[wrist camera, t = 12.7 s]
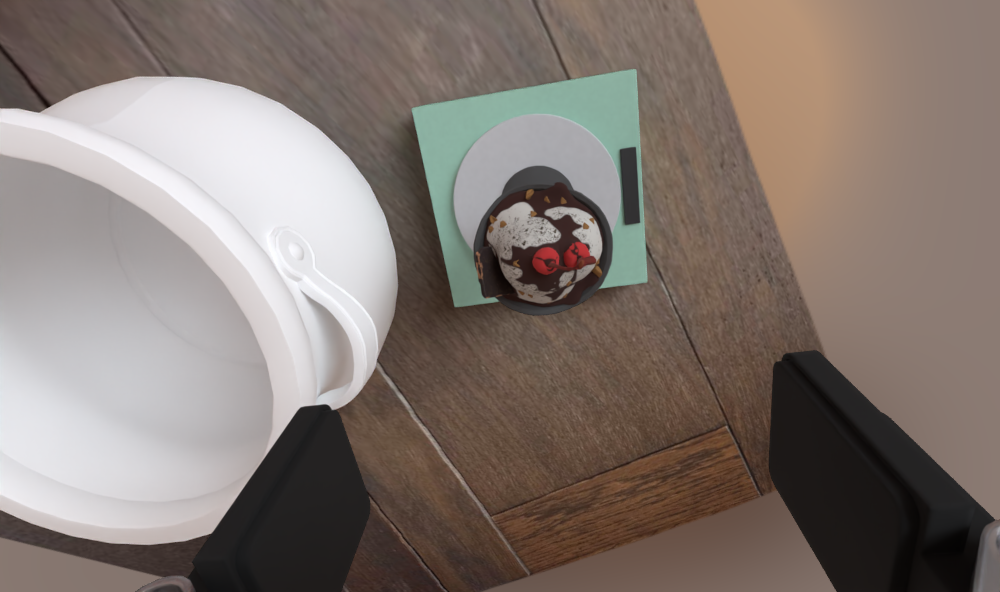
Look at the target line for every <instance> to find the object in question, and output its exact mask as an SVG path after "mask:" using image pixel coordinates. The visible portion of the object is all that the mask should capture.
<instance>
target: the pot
mask: <svg viewBox="0 0 1000 592" xmlns="http://www.w3.org/2000/svg"><path fill="white" fill-rule="evenodd" d="M397 291H398V278H397V266H396V253H395V250H394V246H393V243H392V239H391V236H390V232H389V229H388V225H387V222H386V218H385V215H384V213H383V211H382V209H381V207H380V205H379V203H378V201H377V199H376V197H375V195H374V193H373V191H372V189H371V187H370V185H369V184H368V182H367V181H366V180H365V178H364V177H363V176H362V174H361V173H360V172H359V170H358V169H357V168H356V166H355V165H354V164H353V162H352V161H351V160H350V158H349V157H348V156H347V155H346V154H345V153H344V152H343V151H342V150H341V149H340V148H339V147H338V146H337V145H336V144H334V143H333V142H332V141H331V140H330V139H329V138H328V137H327V136H326V135H325V134H324V133H323V132H322V131H321V130H319V129H318V128H317V127H315V126H314V125H312V124H311V123H309V122H308V121H306V120H305V119H303V118H302V117H300V116H299V115H297V114H296V113H294V112H293V111H291V110H290V109H288V108H287V107H285V106H284V105H282V104H281V103H278V102H276V101H274V100H271V99H269V98H267V97H264V96H262V95H260V94H257V93H255V92H253V91H250V90H248V89H246V88H243V87H241V86H236V85H231V84H227V83H222V82H218V81H213V80H208V79H204V78H190V77H135V78H130V79H126V80H122V81H117V82H113V83H108V84H104V85H100V86H97V87H94V88H91V89H88V90H85V91H82V92H79V93H76V94H73V95H72V96H70V97H68V98H66V99H64V100H62V101H60V102H58V103H56V104H55V105H53V106H51V107H49V108H47V109H45V110H43V111H41V112H40V113H36V112H31V111H26V110H22V109H0V510H2V511H4V512H6V513H9V514H11V515H13V516H15V517H18V518H20V519H22V520H24V521H27V522H29V523H32V524H35V525H38V526H41V527H44V528H48V529H51V530H54V531H57V532H60V533H64V534H67V535H70V536H75V537H80V538H86V539H91V540H97V541H102V542H107V543H118V544H142V545H153V544H162V543H171V542H179V541H187V540H190V539H194V538H197V537H201V536H204V535H207V534H211V533H212V532H213V531H214V529H215V528H216V527H217V525H218V524H219V522H220V521H221V519H222V518H223V517H224V515H225V514H226V512H227V511H228V509H229V508H230V507H231V505H232V504H233V502H234V501H235V499H236V498H237V497H238V495H239V494H240V492H241V491H242V489H243V488H244V486H245V485H246V484H247V482H248V481H249V479H250V478H251V476H252V475H253V474H254V472H255V471H256V469H257V468H258V466H259V465H260V464H261V462H262V461H263V459H264V458H265V456H266V455H267V454H268V452H269V451H270V449H271V448H272V446H273V445H274V444H275V442H276V441H277V439H278V438H279V436H280V435H281V433H282V432H283V431H284V429H285V428H286V426H287V425H288V423H289V422H290V421H291V419H292V418H293V416H294V415H295V413H296V412H297V411H298V409H299V408H300V407H304V406H313V405H322V404H327V405H329V406H330V407H331V409H332V410H335V409H338V408H340V407H342V406H344V405H346V404H347V403H349V402H350V401H351V400H353V399H354V398H355V397H356V396H357V394H358V393H359V392H360V390H361V389H362V388H363V387H364V385H365V384H366V382H367V381H368V379H369V378H370V376H371V375H372V373H373V371H374V369H375V367H376V362H377V358H378V356H379V353H380V351H381V349H382V346H383V344H384V342H385V339H386V336H387V334H388V331H389V328H390V326H391V323H392V320H393V318H394V313H395V306H396V298H397Z"/></svg>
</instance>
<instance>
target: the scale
mask: <svg viewBox="0 0 1000 592" xmlns="http://www.w3.org/2000/svg"><path fill="white" fill-rule="evenodd" d="M412 114H413V118H414V123H415V128H416V132H417V137H418V141H419V146H420V151H421V155H422V160H423V164H424V169H425V174H426V178H427V183H428V187H429V192H430V197H431V201H432V206H433V210H434V215H435V220H436V224H437V229H438V233H439V238H440V242H441V247H442V252H443V256H444V261H445V265H446V270H447V275H448V279H449V284H450V288H451V293H452V298H453V302H454V307H462V306H470V305H478V304H485V303H493V302H500V301H498V300H497V299H496V298H495V297H492V298H487V299H486V298H484V297H483V296H482V293H481V286H480V283H479V281H478V273H477V270H476V267H475V262H474V250H473V244H474V240H475V236H476V232H477V229H478V227H479V224H480V221H481V219H482V218H483V216H484V215H485V213H486V212H487V210H488V209H489V207H490V206H491V205H492V204H493V203H494V201H495V200H496V199H497V198H498V197H500V196H501V195H502V192H503V189H504V187H505V185H506V183H507V182H508V181H509V179H510V178H511V177H512V176H513V175H514V174H515V173H517V172H519V171H520V170H522V169H524V168H527V167H530V166H547V167H551V168H553V169H556V170H558V171H559V172H561V173H562V174H563V175H564V176H565V177H566V178H567V179H568V180H569V181H570V183H571V185H572V187H573V189H574V190H575V191H578V192H580V193H582V194H583V195H585V196H586V197H588V198H589V199H591V200H592V201H593V202H594V203H595V204H596V205H597V206H599V207H600V209H601V210H602V212H603V213H604V215H605V216H606V218H607V220H608V223H609V225H610V228H611V232H612V236H613V256H612V263H611V266H610V269H609V272H608V274H607V276H606V278H605V280H604V282H603V284H602V286H601V287H600V288H599V289H601V288H609V287H616V286H624V285H632V284H639V283H647V265H646V246H645V227H644V208H643V189H642V170H641V151H640V132H639V113H638V94H637V75H636V69H630V70H623V71H617V72H611V73H606V74H600V75H594V76H588V77H583V78H577V79H571V80H565V81H560V82H554V83H548V84H543V85H537V86H531V87H525V88H520V89H514V90H508V91H502V92H497V93H491V94H485V95H479V96H474V97H468V98H462V99H457V100H451V101H445V102H439V103H434V104H428V105H422V106H418V107H414V108H412Z"/></svg>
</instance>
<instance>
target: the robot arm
mask: <svg viewBox="0 0 1000 592" xmlns="http://www.w3.org/2000/svg"><path fill="white" fill-rule="evenodd" d="M769 472H770V476H771V479H772V481H773V483H774V485H775V487H776V489H777V490H778V492H779V494H780V495H781V497H782V499H783V501H784V502H785V504H786V506H787V507H788V509H789V511H790V512H791V514H792V516H793V518H794V519H795V521H796V523H797V525H798V526H799V528H800V530H801V531H802V533H803V535H804V536H805V538H806V540H807V542H808V543H809V545H810V547H811V548H812V550H813V552H814V553H815V555H816V557H817V559H818V560H819V562H820V564H821V565H822V567H823V569H824V570H825V572H826V574H827V576H828V578H829V579H830V581H831V583H832V584H833V586H834V588H835V589H836V591H837V592H1000V520H995V519H994V518H993V517H992V516H991V515H990V514H989V513H988V512H987V511H986V510H985V509H984V508H983V507H981V505H979V504H978V503H977V502H976V501H975V500H974V499H973V498H972V497H971V496H970V495H969V494H968V493H967V492H966V491H965V490H964V489H963V488H962V487H961V486H960V485H959V484H958V483H957V482H956V481H955V480H954V479H953V478H952V477H951V476H950V475H949V474H948V473H946V472H945V471H944V470H943V469H942V468H941V467H940V466H939V465H938V464H937V463H936V462H935V461H934V460H933V459H932V458H931V457H930V456H929V455H928V454H927V453H926V452H925V451H924V450H923V449H922V448H921V447H920V446H919V445H917V444H916V442H914V441H913V440H912V439H911V438H910V437H909V436H908V435H907V434H906V433H905V432H904V431H903V430H902V429H901V428H900V427H899V426H898V425H897V424H896V423H894V421H893V420H891V418H889V417H888V416H887V415H885V414H884V413H881V412H880V411H879V410H878V409H877V408H876V407H875V406H874V405H873V404H872V403H871V402H870V401H869V400H868V399H867V398H866V397H865V396H864V395H863V394H862V393H861V392H860V391H859V390H858V389H857V388H856V387H855V386H853V385H852V383H851V382H849V381H848V380H847V379H846V378H845V377H844V376H843V375H842V374H841V373H840V372H839V371H838V370H837V369H836V368H835V367H834V366H833V365H832V364H831V363H830V362H829V361H828V360H827V359H826V358H825V357H824V356H823V355H822V354H821V353H820V352H818V351H815V350H813V351H804V352H795V353H786V354H784V355H783V358H782V361H779V362H775V364H774V367H773V385H772V406H771V426H770V447H769ZM369 514H370V499H369V496H368V493H367V490H366V488H365V485H364V482H363V479H362V476H361V474H360V471H359V468H358V465H357V462H356V459H355V457H354V454H353V451H352V448H351V445H350V442H349V440H348V437H347V434H346V431H345V428H344V426H343V423H342V420H341V417H340V415H339V412H338V411H337V410H332V409H331V407H330V406H329V405H327V404H322V405H313V406H304V407H300V408H299V409H298V411H297V412H296V413H295V415H294V416H293V418H292V419H291V421H290V422H289V423H288V425H287V426H286V428H285V429H284V431H283V432H282V433H281V435H280V436H279V438H278V439H277V441H276V442H275V444H274V445H273V446H272V448H271V449H270V451H269V452H268V454H267V455H266V456H265V458H264V459H263V461H262V462H261V464H260V465H259V466H258V468H257V469H256V471H255V472H254V474H253V475H252V476H251V478H250V479H249V481H248V482H247V484H246V485H245V486H244V488H243V489H242V491H241V492H240V494H239V495H238V497H237V498H236V499H235V501H234V502H233V504H232V505H231V507H230V508H229V509H228V511H227V512H226V514H225V515H224V517H223V518H222V519H221V521H220V522H219V524H218V525H217V527H216V528H215V529H214V531H213V532H212V534H211V535H210V537H209V538H208V539H207V541H206V542H205V544H204V545H203V547H202V548H201V550H200V551H199V552H198V554H197V555H196V557H195V558H194V560H193V561H192V563H193V565H194V566H195V568H194V569H193V571H192V572H191V574H190V575H189V577H188V578H185V577H183V576H169V577H165V578H161V579H158V580H155V581H153V582H151V583H149V584H147V585H145V586H143V587H141V588H140V589H138V590H137V591H135V592H341V591H342V588H343V585H344V582H345V580H346V577H347V574H348V572H349V569H350V566H351V564H352V561H353V558H354V555H355V553H356V550H357V547H358V545H359V542H360V539H361V537H362V534H363V531H364V528H365V526H366V523H367V520H368V518H369Z"/></svg>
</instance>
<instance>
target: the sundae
mask: <svg viewBox="0 0 1000 592" xmlns="http://www.w3.org/2000/svg"><path fill="white" fill-rule="evenodd" d="M473 250H474V262H475V267H476V270H477V273H478V281H479V283H480V286H481V293H482V296H483V297H484V298H486V299H487V298H492V297H495V298H496V299H497V300H498V301H500V302H501V303H502V304H504V305H505V306H507V307H508V308H510V309H512V310H515V311H517V312H520V313H524V314H528V315H533V316H535V315H550V314H556V313H559V312H562V311H565V310H568V309H570V308H572V307H575V306H577V305H579V304H580V303H582V302H584V301H586V300H587V299H588V298H589V297H591V296H592V295H593V294H594V293H595V292H596V291H597V290H598V289H599V288H600V287H601V286H602V284H603V282H604V280H605V278H606V276H607V274H608V272H609V269H610V266H611V263H612V256H613V236H612V232H611V228H610V225H609V223H608V220H607V218H606V216H605V215H604V213H603V212H602V210H601V209H600V207H599V206H597V205H596V204H595V203H594V202H593V201H592V200H591V199H589V198H588V197H586V196H585V195H583V194H582V193H580V192H578V191H575V190H574V189H573V187H572V185H571V183H570V181H569V180H568V179H567V178H566V177H565V176H564V175H563V174H562V173H561V172H559V171H558V170H556V169H553V168H551V167H547V166H530V167H527V168H524V169H522V170H520V171H519V172H517V173H515V174H514V175H513V176H512V177H511V178H510V179H509V181H508V182H507V183H506V185H505V187H504V189H503V192H502V195H501V196H500V197H498V198H497V199H496V200H495V201H494V203H493V204H492V205H491V206H490V207H489V209H488V210H487V212H486V213H485V215H484V216H483V218H482V219H481V221H480V224H479V227H478V229H477V232H476V236H475V240H474V244H473Z"/></svg>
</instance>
